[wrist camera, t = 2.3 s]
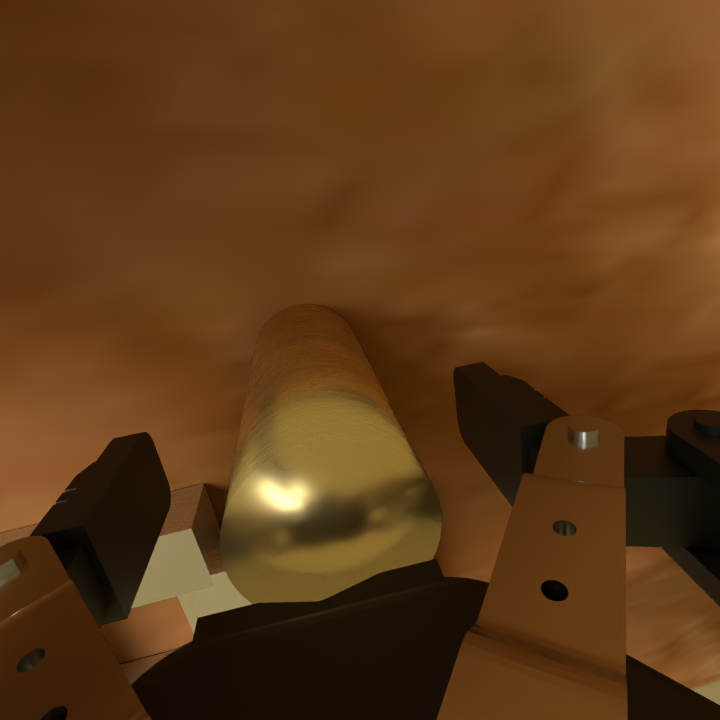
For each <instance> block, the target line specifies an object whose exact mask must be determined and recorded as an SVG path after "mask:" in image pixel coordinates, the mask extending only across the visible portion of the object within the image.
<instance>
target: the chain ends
mask: <svg viewBox="0 0 720 720" xmlns="http://www.w3.org/2000/svg"><path fill="white" fill-rule="evenodd" d="M37 525H38V524H36V525H32V526H28V527H24V528H20V529H16V530H12V531H8V532H4V533H0V547H1V546H3V545H5V544H7V543H10V542H12V541H15V540H18V539H21V538H25V537H29V536H30V534H31V533H32V532H33V531H34V529H35V528H36V527H37ZM220 531H221V528H220V526H219V523H218V520H217V518H216V515H215V512H214V510H213V507H212V504H211V501H210V499H209V496H208V493H207V491H206V488H205V485H204V484H200V485H196V486H192V487H188V488H184V489H180V490H175V491H171V505H170V509H169V512H168V514H167V517H166V520H165V522H164V525H163V527H162V530H161V532H160V535H159V538H158V540H157V543H156V545H155V548H154V551H153V553H152V556H151V558H150V561H149V563H148V566H147V569H146V571H145V574H144V576H143V579H142V582H141V584H140V587H139V589H138V592H137V594H136V597H135V600H134V602H133V605H132V607H131V608H134V607H138V606H142V605H146V604H150V603H153V602H157V601H161V600H165V599H169V598H172V597H176V596H177V597H178V599H179V601H180V604H181V606H182V608H183V610H184V613H185V615H186V617H187V619H188V622H189V624H190V626H191V628H192V631H193V633H194V632H195V627H196V623H197V618H199V617H203V616H207V615H211V614H215V613H219V612H223V611H227V610H231V609H235V608H239V607H243V606H247V605H251V604H252V603H250V602H249V601H248V600H247V599H245V598H244V597H243V596H242V595H241V594H240V593H239V592H238V591H237V589H236V588H235V587H234V585H233V584H232V582H231V581H230V580H229V578H228V576H227V574H226V571H225V569H224V566H223V563H222V560H221V554H220V545H219V544H220ZM173 651H175V650H172V651H168V652H165V653H161V654H158V655H154V656H150V657H147V658H143V659H139V660H136V661H132V662H128V663H125V664H121V665H120V666H121V668H122V670H123V671H124V673H125V675H126V677H127V679H128V680H129V682H130V684H132V683H134V682H135V681H136V680H137V679H138V678H139V677H140V676H141V675H142V674H143V673H145V672H146V671H147V670H148V669H149V668H151V667H152V666H153V665H154V664H155V663H157V662H158V661H160V660H161V659H163V658H164V657H165V656H167V655H168V654H170V653H171V652H173Z"/></svg>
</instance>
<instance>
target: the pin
mask: <svg viewBox="0 0 720 720" xmlns="http://www.w3.org/2000/svg"><path fill="white" fill-rule="evenodd" d="M441 529H442V514H441V508H440V504H439V500H438V497H437V495H436V492H435V490H434V488H433V486H432V484H431V482H430V480H429V478H428V476H427V474H426V472H425V470H424V469H423V467H422V465H421V463H420V461H419V459H418V457H417V455H416V453H415V451H414V449H413V447H412V445H411V443H410V441H409V439H408V438H407V436H406V434H405V432H404V430H403V428H402V426H401V424H400V422H399V420H398V418H397V416H396V414H395V412H394V410H393V408H392V407H391V405H390V403H389V401H388V399H387V397H386V395H385V393H384V391H383V389H382V387H381V385H380V383H379V381H378V379H377V378H376V376H375V374H374V372H373V370H372V368H371V366H370V364H369V362H368V360H367V358H366V356H365V354H364V352H363V350H362V348H361V347H360V345H359V343H358V341H357V339H356V337H355V335H354V333H353V331H352V329H351V328H350V326H349V325H348V323H347V322H346V321H345V320H344V319H343V318H342V317H341V316H340V315H338V314H337V313H336V312H334V311H332V310H330V309H328V308H325V307H322V306H318V305H312V304H302V305H295V306H292V307H288V308H286V309H284V310H282V311H280V312H278V313H277V314H275V315H274V316H273V317H271V318H270V319H269V320H268V321H267V323H266V324H265V325H264V327H263V328H262V330H261V331H260V333H259V336H258V338H257V342H256V346H255V351H254V357H253V362H252V367H251V373H250V378H249V383H248V388H247V394H246V399H245V404H244V409H243V415H242V420H241V425H240V431H239V436H238V441H237V446H236V452H235V457H234V462H233V468H232V473H231V478H230V483H229V489H228V494H227V499H226V505H225V510H224V515H223V520H222V526H221V531H220V544H219V545H220V554H221V560H222V563H223V566H224V569H225V571H226V574H227V576H228V578H229V580H230V581H231V582H232V584H233V585H234V587H235V588H236V589H237V591H238V592H239V593H240V594H241V595H242V596H243V597H244V598H245V599H247V600H248V601H249V602H250V603H252V604H255V603H269V602H310V601H320V600H324V599H326V598H329V597H331V596H333V595H335V594H337V593H339V592H341V591H343V590H345V589H347V588H349V587H351V586H353V585H355V584H357V583H360V582H362V581H364V580H366V579H368V578H370V577H372V576H374V575H376V574H378V573H381V572H385V571H389V570H393V569H397V568H401V567H405V566H409V565H413V564H417V563H421V562H425V561H429V560H432V559H433V557H434V555H435V552H436V550H437V547H438V544H439V540H440V536H441Z"/></svg>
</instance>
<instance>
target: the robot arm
mask: <svg viewBox="0 0 720 720" xmlns="http://www.w3.org/2000/svg"><path fill="white" fill-rule="evenodd" d="M454 387H455V398H456V408H457V419H458V425H459V430H460V433H461V436H462V438H463V440H464V442H465V444H466V445H467V446H468V448H469V449H470V450H471V452H472V453H473V454H474V456H475V457H476V458H477V460H478V461H479V463H480V464H481V465H482V467H483V468H484V469H485V471H486V472H487V473H488V475H489V476H490V477H491V479H492V480H493V481H494V483H495V484H496V485H497V487H498V488H499V490H500V491H501V492H502V494H503V495H504V496H505V498H506V499H507V500H508V502H509V503H510V504H511V506H512V507H513V509H512V512H511V515H510V518H509V521H508V525H507V528H506V531H505V534H504V537H503V541H502V544H501V547H500V550H499V553H498V557H497V560H496V563H495V566H494V569H493V573H492V576H491V579H490V582H489V583H487V582H483V581H479V580H474V579H469V578H460V577H444V576H443V574H442V571H441V569H440V566H439V564H438V562H437V559H433V560H429V561H425V562H421V563H417V564H413V565H409V566H405V567H401V568H397V569H393V570H389V571H385V572H381V573H378V574H376V575H374V576H372V577H370V578H368V579H366V580H364V581H362V582H360V583H357V584H355V585H353V586H351V587H349V588H347V589H345V590H343V591H341V592H339V593H337V594H335V595H333V596H331V597H329V598H326V599H324V600H320V601H310V602H269V603H255V604H251V605H247V606H243V607H239V608H235V609H231V610H227V611H223V612H219V613H215V614H211V615H207V616H203V617H199V618H197V623H196V627H195V632H194V636H193V641H191V642H189V643H187V644H185V645H183V646H181V647H180V648H178V649H176V650H175V651H173V652H171V653H170V654H168V655H167V656H165V657H164V658H163V659H161V660H160V661H158V662H157V663H155V664H154V665H153V666H152V667H151V668H149V669H148V670H147V671H146V672H145V673H143V674H142V675H141V676H140V677H139V678H138V679H137V680H136V681H135V682H134V683H132V684H130V682H129V680H128V679H127V677H126V675H125V673H124V671H123V670H122V668H121V666H120V664H119V663H118V661H117V659H116V657H115V655H114V654H113V652H112V650H111V648H110V647H109V645H108V643H107V641H106V639H105V638H104V636H103V634H102V632H101V630H100V629H99V628H100V626H101V625H103V624H108V623H112V622H116V621H120V620H124V619H127V618H128V615H129V612H130V610H131V607H132V605H133V602H134V600H135V597H136V594H137V592H138V589H139V587H140V584H141V582H142V579H143V576H144V574H145V571H146V569H147V566H148V563H149V561H150V558H151V556H152V553H153V551H154V548H155V545H156V543H157V540H158V538H159V535H160V532H161V530H162V527H163V525H164V522H165V520H166V517H167V514H168V512H169V509H170V505H171V492H170V486H169V483H168V480H167V477H166V475H165V472H164V469H163V467H162V464H161V461H160V458H159V456H158V453H157V450H156V448H155V445H154V442H153V440H152V438H151V436H150V435H149V434H148V433H147V432H142V433H137V434H133V435H128V436H123V437H118V438H114V439H113V440H112V441H111V442H110V443H109V445H108V446H107V447H106V449H105V450H104V451H103V453H102V454H101V455H100V457H99V458H98V460H97V461H96V462H94V463H92V464H91V465H90V466H88V467H87V468H86V469H84V470H83V471H82V472H80V473H79V474H78V475H77V476H76V477H75V478H74V479H73V480H72V482H71V483H70V484H69V486H68V487H67V488H66V489H65V493H62V495H61V496H60V497H59V498H58V500H57V501H56V505H53V506H52V507H51V509H50V510H49V511H48V513H47V514H46V515H45V516H44V518H43V519H42V520H41V522H40V523H39V524H38V525H37V527H36V528H35V529H34V531H33V532H32V533H31V534H30V536H29V537H25V538H21V539H18V540H15V541H12V542H10V543H7V544H5V545H3V546H1V547H0V720H720V705H718V704H716V703H715V702H713V701H711V700H709V699H707V698H705V697H704V696H702V695H700V694H698V693H696V692H694V691H693V690H691V689H689V688H687V687H685V686H684V685H682V684H680V683H678V682H676V681H674V680H673V679H671V678H669V677H667V676H665V675H663V674H662V673H660V672H658V671H656V670H654V669H652V668H651V667H649V666H647V665H645V664H643V663H641V662H640V661H638V660H636V659H634V658H632V657H631V656H629V655H627V654H626V546H643V547H662V548H663V549H664V551H665V552H666V553H667V554H668V555H669V556H670V557H671V558H672V559H673V560H674V561H675V562H676V563H677V564H678V565H679V566H680V567H681V568H682V569H683V570H684V571H685V572H686V573H687V574H688V575H689V576H690V577H691V578H692V579H693V580H694V581H695V582H696V583H697V584H698V585H699V586H700V587H701V588H702V589H703V590H704V591H705V592H706V593H707V594H708V595H709V596H710V597H711V598H712V599H713V600H714V601H715V602H716V603H717V604H718V605H719V606H720V412H718V411H710V410H688V411H682V412H678V413H676V414H674V415H672V416H670V418H669V419H668V421H667V431H666V436H646V437H624V433H623V431H622V430H621V429H620V427H618V426H617V425H616V424H614V423H612V422H610V421H608V420H605V419H602V418H599V417H594V416H587V415H571V416H570V415H568V414H567V413H566V412H564V411H563V410H562V409H560V408H559V407H558V406H556V405H555V404H554V403H552V402H551V401H550V400H548V399H547V398H544V396H543V395H542V394H540V393H539V392H538V391H535V390H534V388H532V387H531V386H530V385H528V384H527V383H526V382H524V381H523V380H520V379H517V378H514V377H511V376H508V375H503V376H500V375H499V374H498V373H496V372H495V371H494V370H493V369H492V368H490V367H489V366H488V365H487V364H485V363H484V362H479V363H474V364H470V365H465V366H460V367H456V368H455V369H454Z"/></svg>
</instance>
